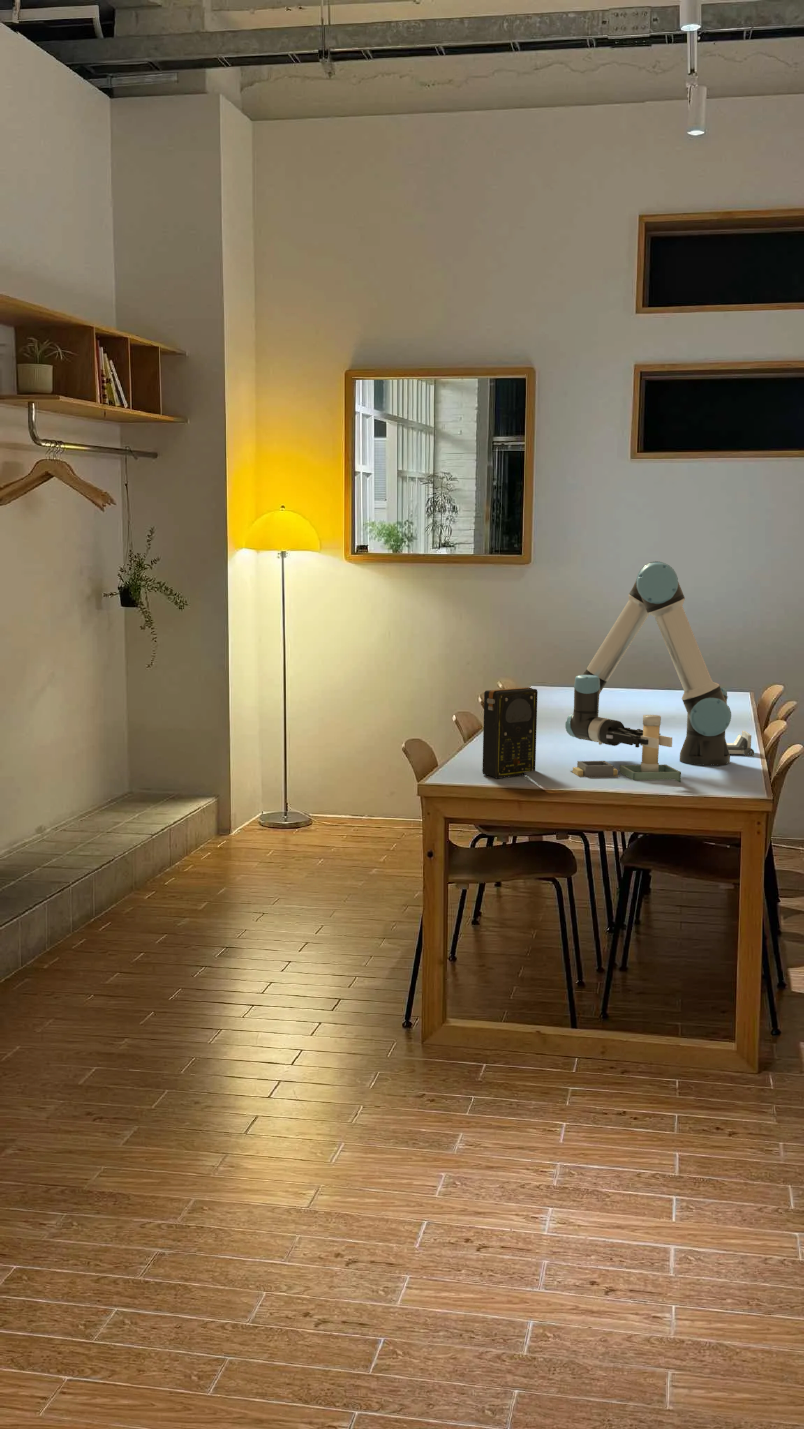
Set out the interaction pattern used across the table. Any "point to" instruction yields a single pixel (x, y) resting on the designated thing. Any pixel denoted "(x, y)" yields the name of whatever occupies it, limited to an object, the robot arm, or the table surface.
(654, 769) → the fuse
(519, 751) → the voltmeter
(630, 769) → the tray
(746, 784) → the table surface
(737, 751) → the phone holder
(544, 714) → the table surface
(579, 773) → the fuse holder
